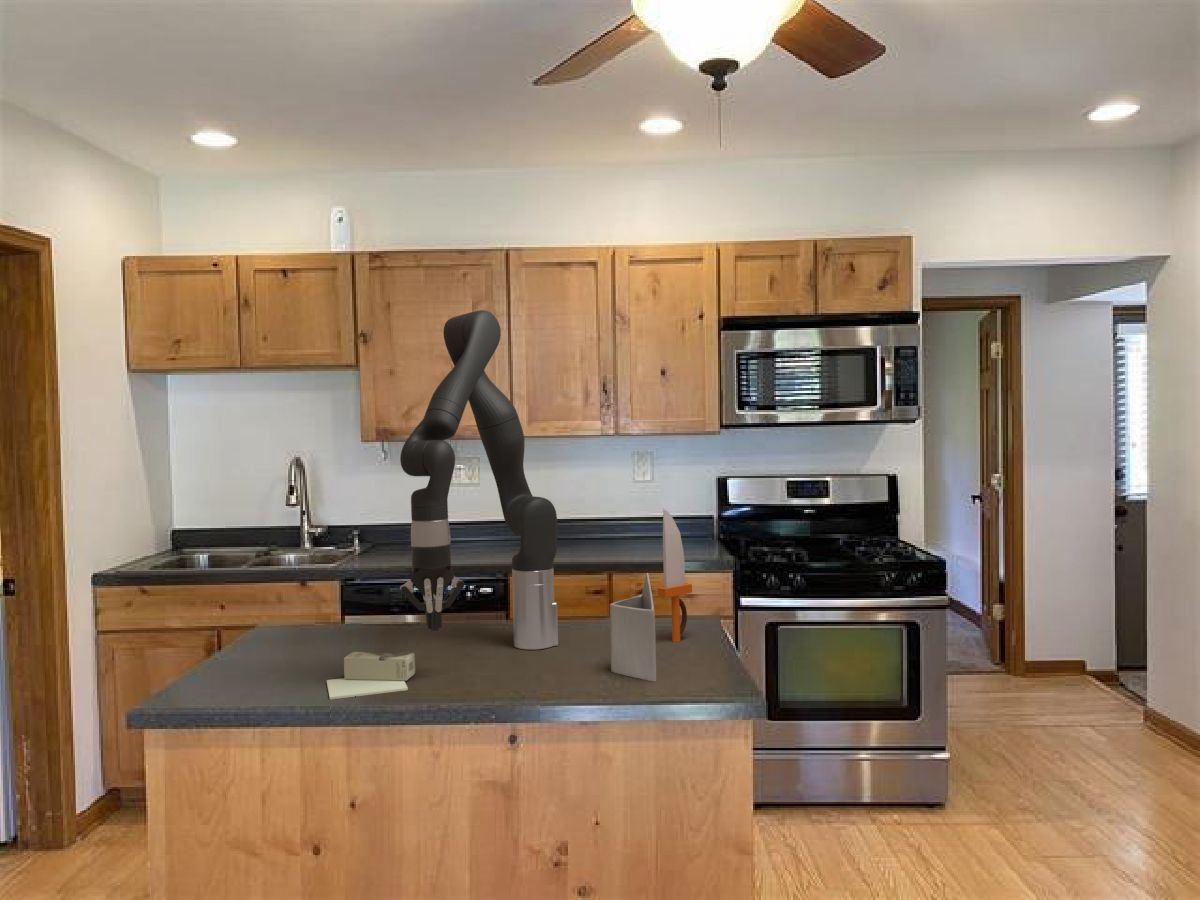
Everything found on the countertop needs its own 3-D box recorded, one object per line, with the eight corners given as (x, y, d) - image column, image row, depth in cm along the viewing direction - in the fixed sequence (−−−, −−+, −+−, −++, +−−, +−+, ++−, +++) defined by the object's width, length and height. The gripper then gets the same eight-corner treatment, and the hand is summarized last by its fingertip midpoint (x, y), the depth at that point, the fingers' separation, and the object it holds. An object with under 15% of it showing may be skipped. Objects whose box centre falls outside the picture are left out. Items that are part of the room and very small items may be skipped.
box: (407, 658, 171) (342, 657, 173) (407, 681, 172) (343, 680, 173) (415, 651, 177) (353, 650, 178) (416, 673, 177) (353, 672, 178)
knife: (666, 645, 196) (663, 509, 195) (658, 643, 198) (655, 508, 197) (693, 639, 201) (690, 506, 200) (685, 637, 203) (682, 505, 202)
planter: (607, 660, 185) (605, 567, 184) (645, 659, 185) (643, 566, 185) (614, 683, 168) (612, 581, 168) (656, 681, 169) (654, 580, 168)
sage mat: (399, 673, 178) (399, 671, 178) (407, 690, 167) (407, 688, 167) (326, 682, 174) (326, 680, 174) (329, 699, 162) (329, 697, 162)
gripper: (460, 537, 180) (463, 623, 180) (394, 542, 175) (397, 630, 176) (468, 542, 173) (471, 631, 173) (398, 547, 168) (402, 638, 169)
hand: (434, 630), depth 174 cm, fingers closed
